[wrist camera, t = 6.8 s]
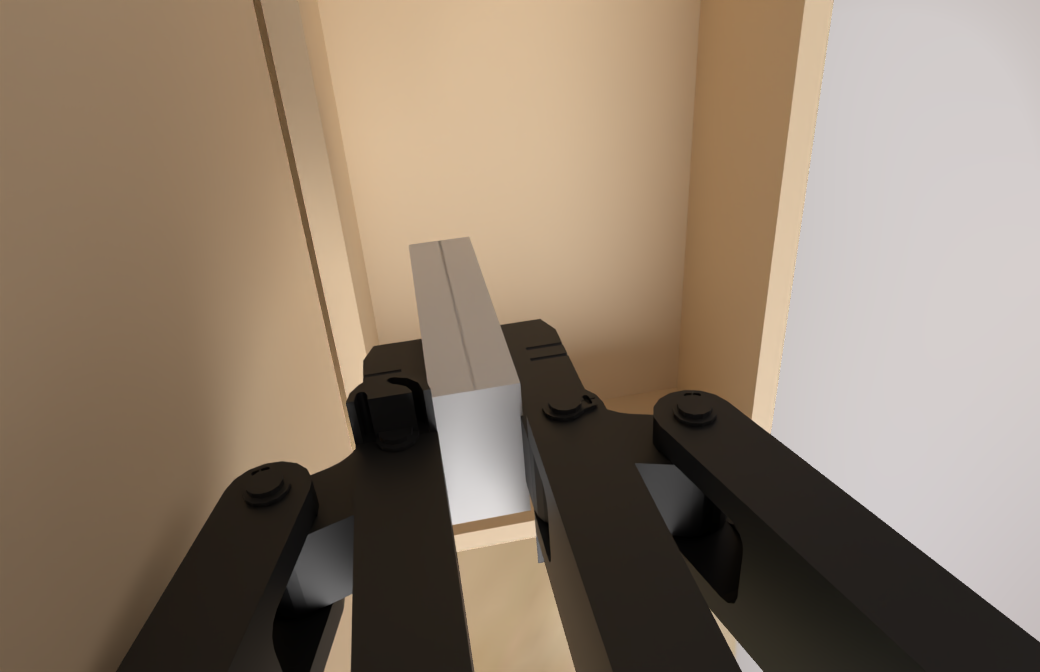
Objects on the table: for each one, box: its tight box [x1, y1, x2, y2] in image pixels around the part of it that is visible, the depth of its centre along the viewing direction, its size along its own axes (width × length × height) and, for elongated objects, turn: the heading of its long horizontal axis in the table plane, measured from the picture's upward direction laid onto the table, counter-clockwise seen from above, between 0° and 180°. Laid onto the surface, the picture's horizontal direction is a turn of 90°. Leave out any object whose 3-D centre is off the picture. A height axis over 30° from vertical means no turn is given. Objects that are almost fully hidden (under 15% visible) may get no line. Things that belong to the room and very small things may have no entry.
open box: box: [260, 0, 834, 552], centre depth 23 cm, size 22×14×7 cm, turn 3°
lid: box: [0, 0, 353, 672], centre depth 13 cm, size 23×13×1 cm
